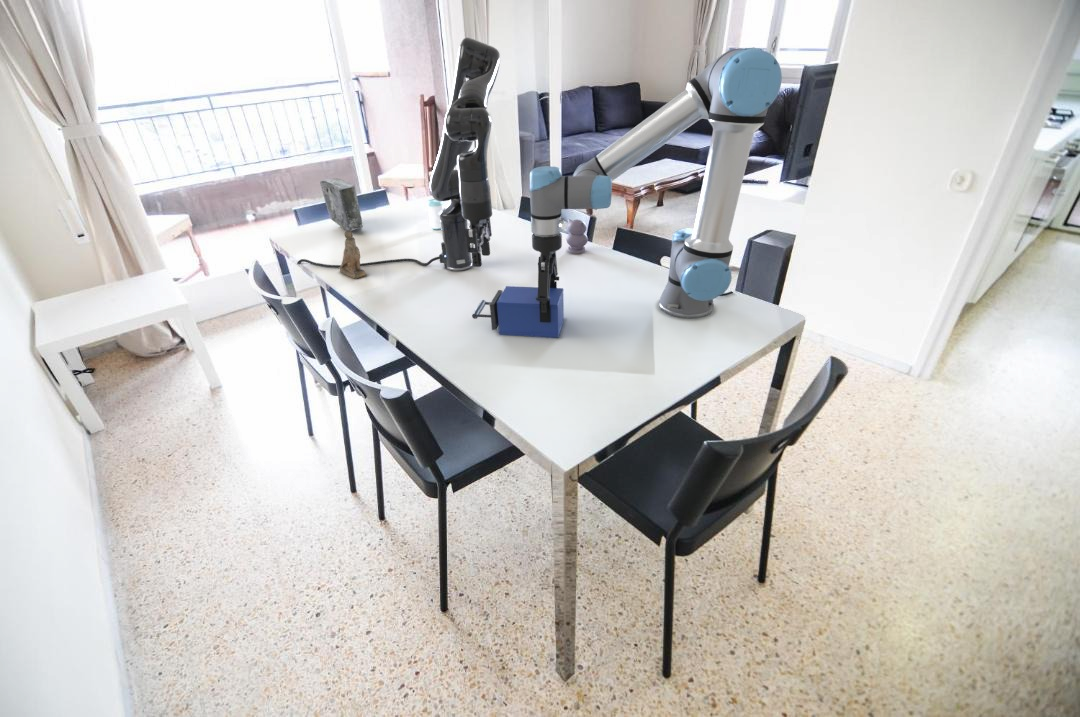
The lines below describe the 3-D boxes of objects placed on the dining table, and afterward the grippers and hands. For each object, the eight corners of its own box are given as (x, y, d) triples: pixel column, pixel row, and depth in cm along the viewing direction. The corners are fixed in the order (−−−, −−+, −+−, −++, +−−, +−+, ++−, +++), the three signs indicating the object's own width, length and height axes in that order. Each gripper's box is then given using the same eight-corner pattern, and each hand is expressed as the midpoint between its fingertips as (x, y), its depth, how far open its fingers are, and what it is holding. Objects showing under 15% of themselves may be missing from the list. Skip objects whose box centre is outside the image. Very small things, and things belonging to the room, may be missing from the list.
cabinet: (499, 334, 136) (496, 302, 131) (508, 316, 145) (506, 285, 140) (558, 337, 133) (557, 304, 128) (563, 319, 142) (563, 288, 137)
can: (445, 229, 220) (441, 202, 214) (429, 230, 220) (425, 202, 214) (447, 224, 226) (444, 198, 220) (432, 225, 226) (428, 198, 220)
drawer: (473, 328, 137) (470, 303, 133) (482, 313, 145) (479, 289, 141) (545, 332, 134) (544, 306, 130) (550, 316, 142) (550, 292, 138)
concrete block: (368, 232, 220) (358, 186, 209) (348, 237, 216) (336, 189, 205) (349, 220, 239) (338, 176, 228) (330, 223, 234) (319, 179, 224)
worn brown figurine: (368, 281, 178) (362, 235, 166) (353, 285, 175) (347, 238, 163) (352, 266, 184) (346, 221, 172) (338, 270, 181) (331, 224, 169)
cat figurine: (592, 250, 190) (592, 219, 184) (579, 256, 185) (579, 224, 179) (574, 246, 195) (575, 215, 189) (561, 251, 191) (561, 220, 184)
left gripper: (482, 205, 116) (488, 271, 124) (497, 191, 128) (502, 251, 136) (451, 205, 117) (460, 270, 126) (469, 190, 129) (475, 251, 138)
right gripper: (554, 248, 114) (556, 333, 125) (567, 219, 133) (567, 295, 145) (522, 248, 115) (527, 331, 127) (540, 219, 134) (542, 294, 146)
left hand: (481, 260), depth 131 cm, fingers open, 8 cm apart
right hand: (548, 312), depth 136 cm, fingers closed on cabinet, 11 cm apart
